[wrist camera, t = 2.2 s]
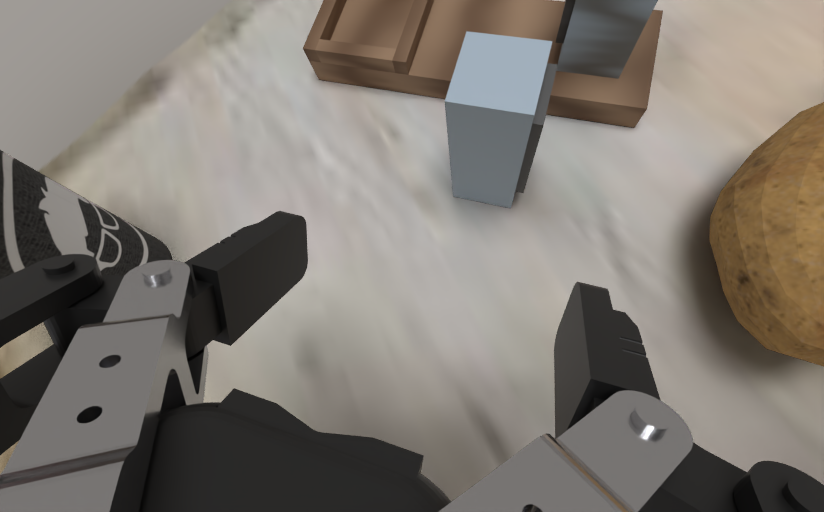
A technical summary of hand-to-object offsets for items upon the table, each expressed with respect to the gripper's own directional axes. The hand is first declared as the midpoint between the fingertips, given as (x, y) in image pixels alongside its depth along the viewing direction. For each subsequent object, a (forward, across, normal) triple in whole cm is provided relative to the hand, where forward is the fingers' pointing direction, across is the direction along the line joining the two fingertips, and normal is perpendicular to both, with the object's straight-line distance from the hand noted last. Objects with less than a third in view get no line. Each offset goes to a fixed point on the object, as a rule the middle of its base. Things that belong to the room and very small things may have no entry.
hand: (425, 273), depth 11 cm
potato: (+16, -17, +4) cm, 24 cm away
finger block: (+18, 0, +2) cm, 18 cm away
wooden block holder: (+24, +3, -5) cm, 25 cm away
